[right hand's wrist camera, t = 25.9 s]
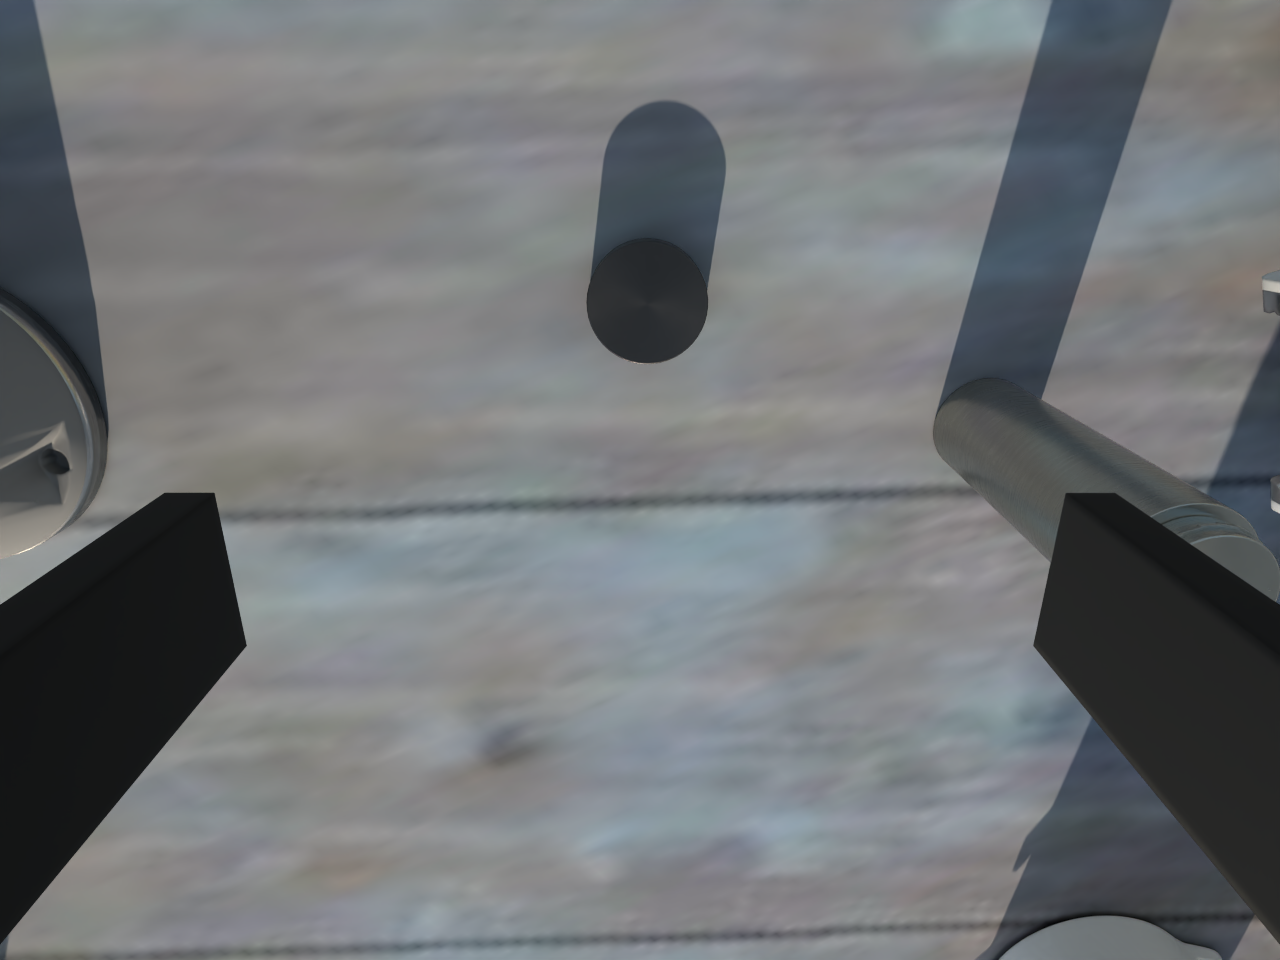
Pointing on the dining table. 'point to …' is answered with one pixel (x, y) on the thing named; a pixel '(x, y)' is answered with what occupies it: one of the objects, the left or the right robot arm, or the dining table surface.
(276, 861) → the dining table surface
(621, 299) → the lid
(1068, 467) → the silver metal canister
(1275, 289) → the left robot arm
